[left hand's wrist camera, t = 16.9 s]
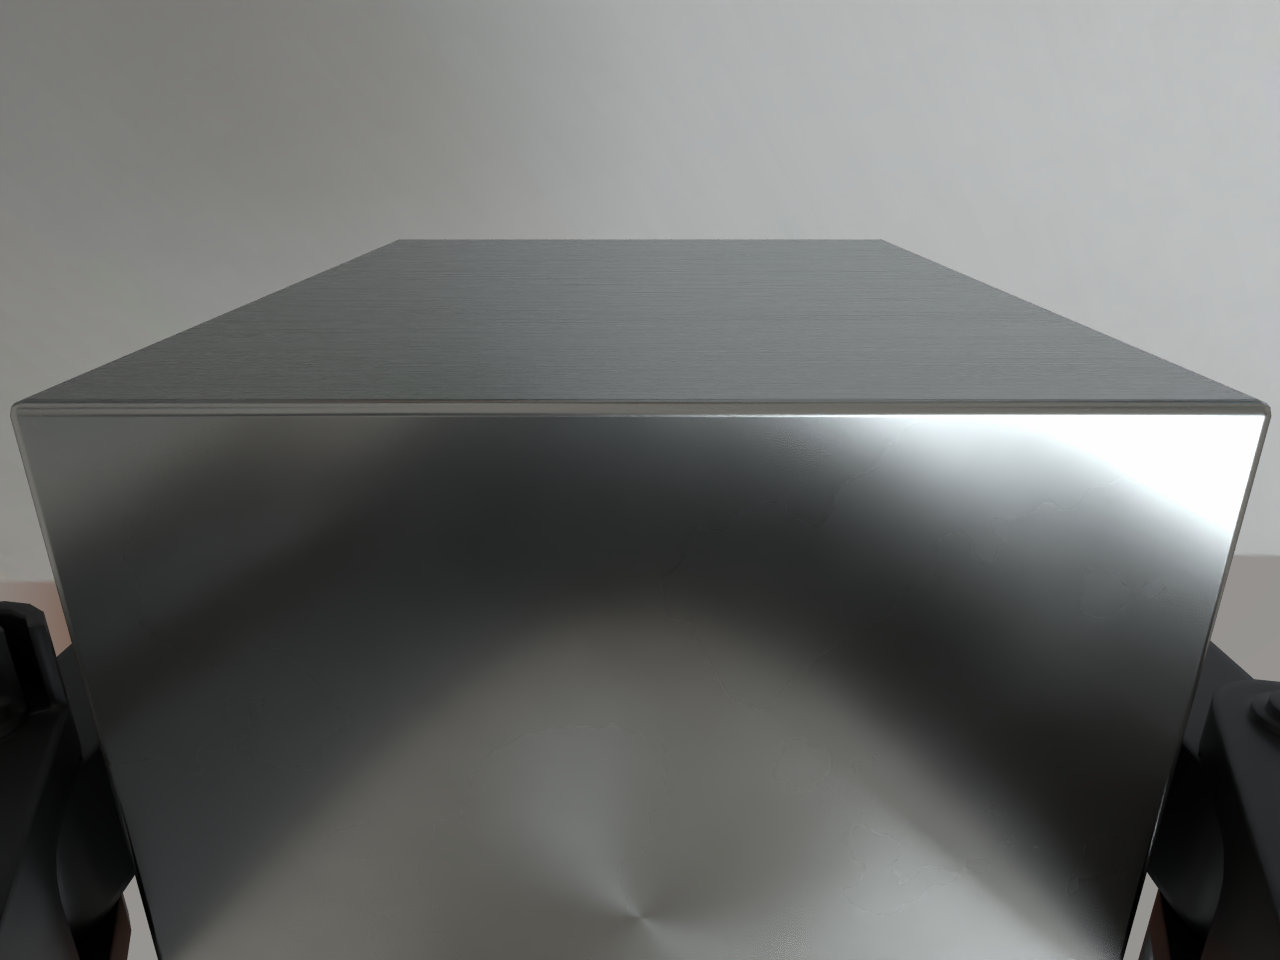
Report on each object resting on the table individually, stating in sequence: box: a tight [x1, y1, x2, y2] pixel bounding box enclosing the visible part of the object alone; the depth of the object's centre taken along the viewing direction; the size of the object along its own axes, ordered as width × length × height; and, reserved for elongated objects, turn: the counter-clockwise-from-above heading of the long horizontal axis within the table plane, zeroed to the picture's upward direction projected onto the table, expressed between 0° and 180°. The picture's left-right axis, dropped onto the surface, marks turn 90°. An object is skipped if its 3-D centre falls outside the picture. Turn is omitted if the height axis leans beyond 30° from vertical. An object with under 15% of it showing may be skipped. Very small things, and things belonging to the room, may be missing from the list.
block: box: [10, 240, 1271, 960], centre depth 11 cm, size 8×8×9 cm
